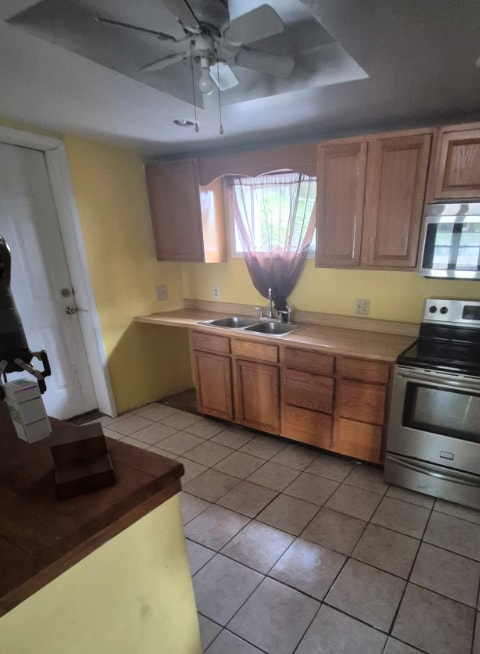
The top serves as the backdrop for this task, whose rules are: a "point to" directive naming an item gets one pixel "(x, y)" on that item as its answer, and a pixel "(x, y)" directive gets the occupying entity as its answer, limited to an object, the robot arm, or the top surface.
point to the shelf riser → (81, 459)
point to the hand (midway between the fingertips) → (22, 396)
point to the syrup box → (27, 409)
